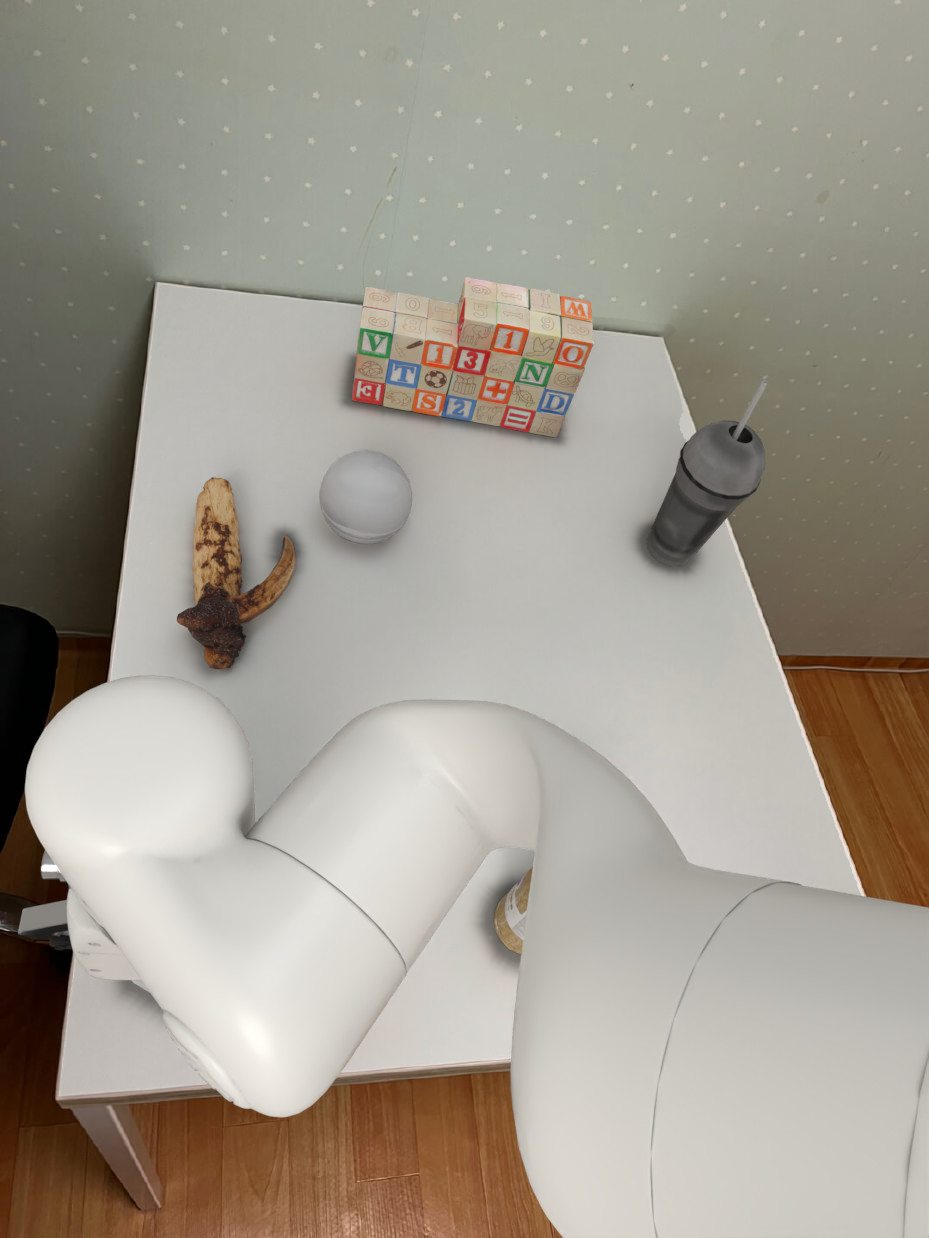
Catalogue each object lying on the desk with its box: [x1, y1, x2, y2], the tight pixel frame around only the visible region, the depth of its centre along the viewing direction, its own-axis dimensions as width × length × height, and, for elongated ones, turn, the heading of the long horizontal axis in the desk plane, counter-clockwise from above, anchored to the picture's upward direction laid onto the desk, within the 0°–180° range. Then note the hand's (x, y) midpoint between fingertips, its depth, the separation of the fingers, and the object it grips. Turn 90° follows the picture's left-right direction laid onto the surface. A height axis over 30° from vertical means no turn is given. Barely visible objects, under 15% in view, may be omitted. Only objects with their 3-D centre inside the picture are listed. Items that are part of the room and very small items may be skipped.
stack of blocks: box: [351, 276, 595, 438], centre depth 84 cm, size 21×6×12 cm, turn 88°
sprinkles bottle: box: [493, 865, 533, 955], centre depth 56 cm, size 5×5×13 cm
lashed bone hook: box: [176, 476, 297, 670], centre depth 70 cm, size 9×5×18 cm
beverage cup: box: [646, 379, 769, 567], centre depth 75 cm, size 7×7×20 cm
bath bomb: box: [318, 449, 413, 545], centre depth 74 cm, size 8×8×8 cm
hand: (196, 950), depth 53 cm, fingers closed on product box, 8 cm apart
